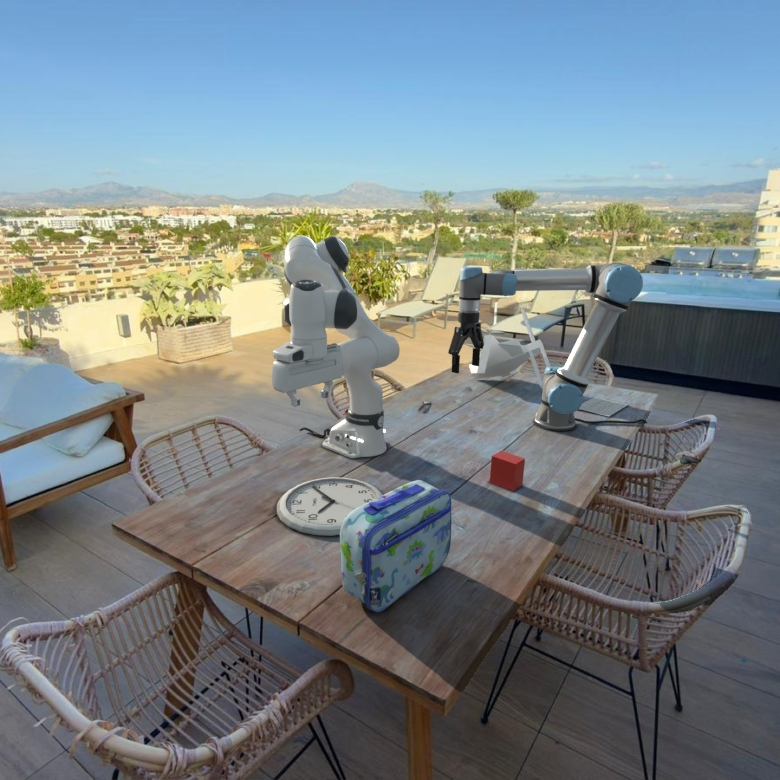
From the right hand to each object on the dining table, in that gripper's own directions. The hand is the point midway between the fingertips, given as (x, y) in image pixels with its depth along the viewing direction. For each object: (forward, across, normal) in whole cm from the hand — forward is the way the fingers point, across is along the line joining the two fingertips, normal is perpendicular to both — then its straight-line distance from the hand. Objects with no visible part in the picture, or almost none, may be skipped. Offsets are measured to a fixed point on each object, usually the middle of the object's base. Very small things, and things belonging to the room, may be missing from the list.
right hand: (465, 369), depth 192 cm
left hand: (-7, +77, +3) cm, 77 cm away
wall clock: (+23, +72, +5) cm, 76 cm away
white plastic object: (+24, -63, -15) cm, 69 cm away
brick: (+24, +29, +34) cm, 51 cm away
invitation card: (+24, -63, +30) cm, 74 cm away
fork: (+24, -11, -26) cm, 37 cm away
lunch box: (+24, +86, +39) cm, 97 cm away
